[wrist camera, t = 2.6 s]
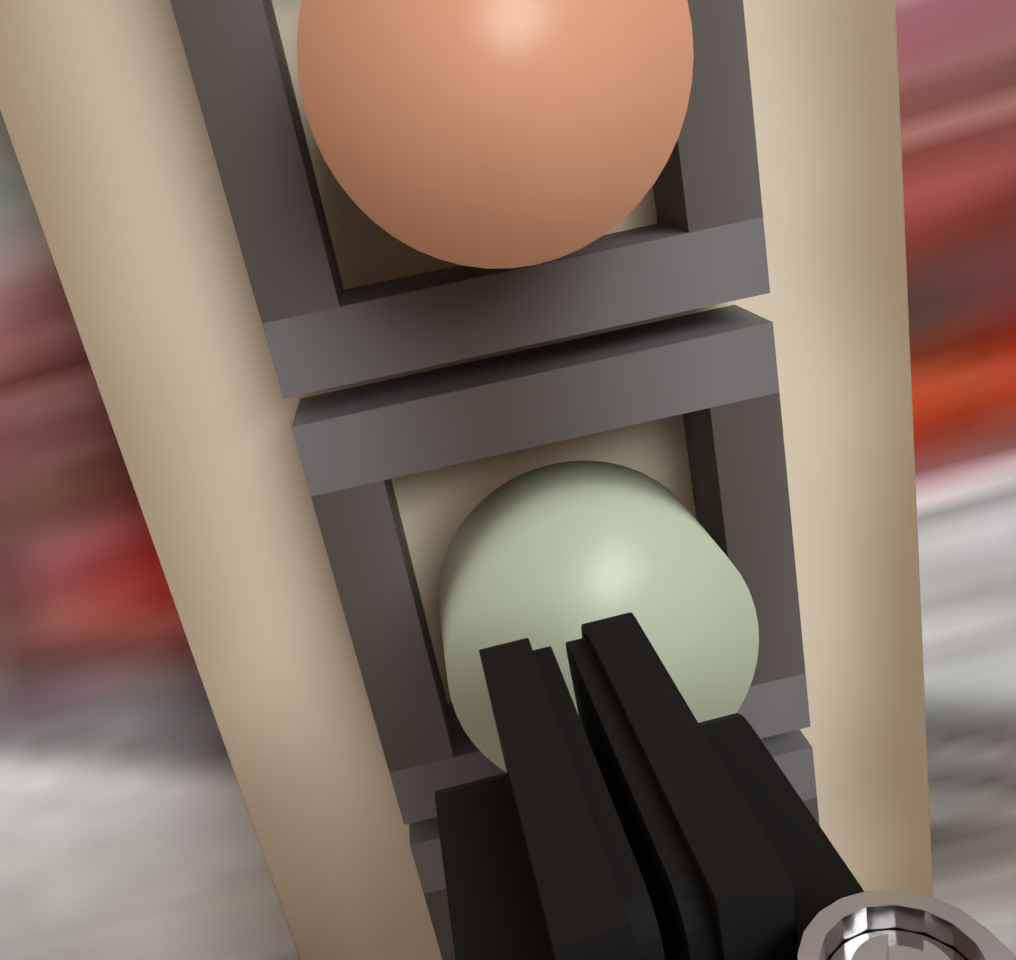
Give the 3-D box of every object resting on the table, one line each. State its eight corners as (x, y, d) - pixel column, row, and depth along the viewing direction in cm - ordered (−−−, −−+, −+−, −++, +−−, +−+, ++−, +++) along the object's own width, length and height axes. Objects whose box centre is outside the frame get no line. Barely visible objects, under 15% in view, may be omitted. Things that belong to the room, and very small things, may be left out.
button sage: (691, 432, 13) (742, 480, 11) (722, 676, 15) (772, 754, 13) (409, 496, 13) (415, 554, 11) (469, 736, 15) (482, 824, 13)
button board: (778, -340, 14) (944, -540, 10) (868, 896, 23) (979, 1068, 18) (-31, -193, 14) (-215, -342, 9) (370, 1022, 22) (367, 1229, 18)
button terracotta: (617, -143, 11) (667, -203, 9) (664, 213, 12) (713, 226, 10) (270, -77, 11) (245, -124, 9) (357, 278, 12) (352, 303, 10)
